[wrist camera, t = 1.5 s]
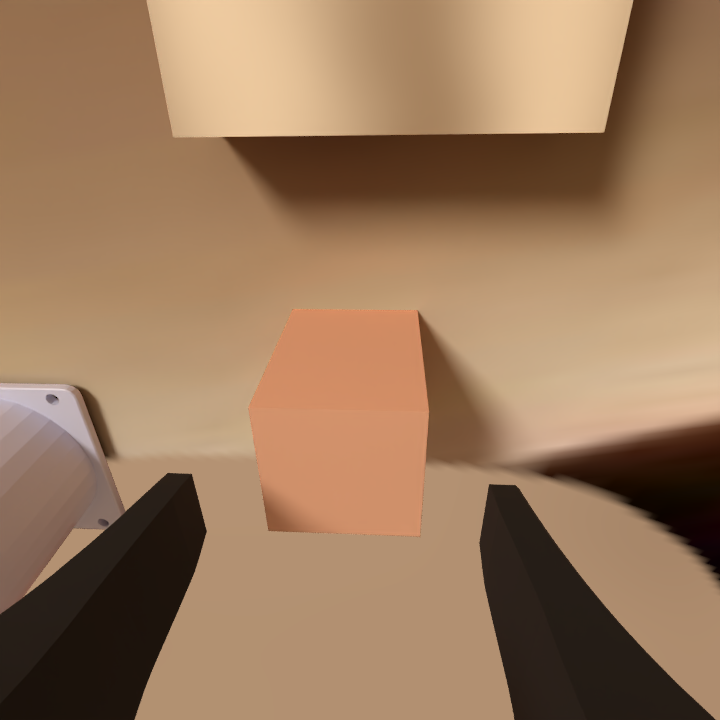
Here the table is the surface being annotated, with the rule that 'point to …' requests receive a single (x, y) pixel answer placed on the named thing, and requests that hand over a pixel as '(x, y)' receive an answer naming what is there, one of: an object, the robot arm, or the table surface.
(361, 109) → the birch base block
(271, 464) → the terracotta block
